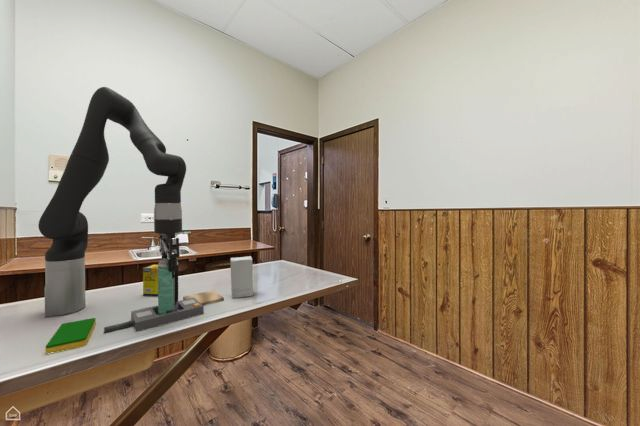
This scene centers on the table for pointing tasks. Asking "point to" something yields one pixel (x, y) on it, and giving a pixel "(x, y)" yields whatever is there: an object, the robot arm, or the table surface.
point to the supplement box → (150, 280)
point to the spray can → (167, 288)
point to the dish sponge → (71, 335)
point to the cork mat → (206, 297)
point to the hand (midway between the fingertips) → (169, 268)
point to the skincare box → (241, 277)
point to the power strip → (160, 316)
